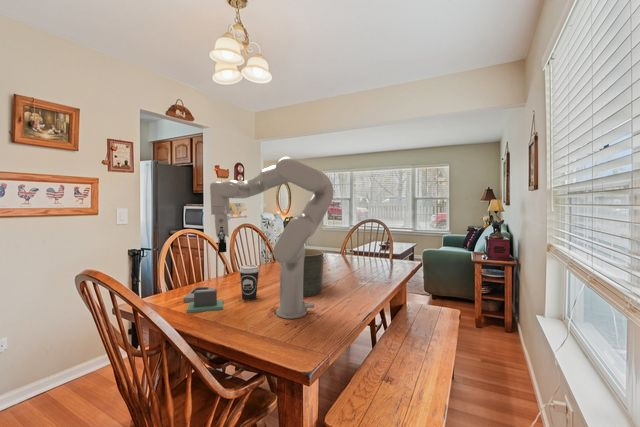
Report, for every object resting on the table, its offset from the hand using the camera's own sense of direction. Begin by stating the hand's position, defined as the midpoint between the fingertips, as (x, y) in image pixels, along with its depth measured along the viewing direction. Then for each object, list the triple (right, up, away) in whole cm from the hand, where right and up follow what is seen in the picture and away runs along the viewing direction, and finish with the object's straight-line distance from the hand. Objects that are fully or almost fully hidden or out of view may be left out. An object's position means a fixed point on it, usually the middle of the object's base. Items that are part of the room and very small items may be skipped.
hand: (222, 250), depth 130 cm
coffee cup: (+8, -24, +14) cm, 29 cm away
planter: (+32, -24, +27) cm, 49 cm away
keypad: (-15, -25, +14) cm, 32 cm away
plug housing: (-7, -23, +1) cm, 24 cm away
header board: (-7, -25, +1) cm, 26 cm away
